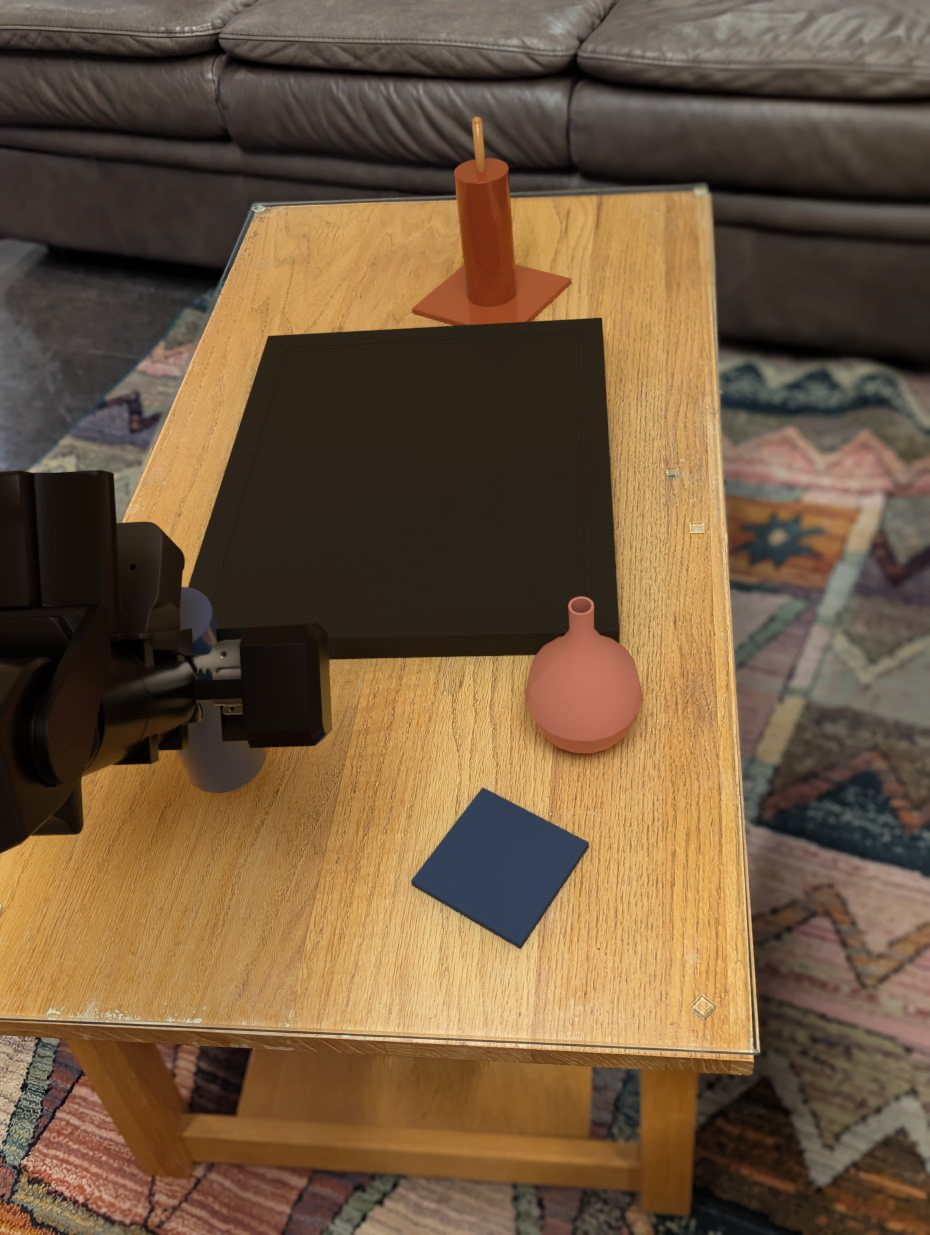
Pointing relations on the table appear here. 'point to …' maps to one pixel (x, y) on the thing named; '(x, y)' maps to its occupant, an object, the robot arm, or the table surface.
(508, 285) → the terracotta candle
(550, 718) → the terracotta bud vase
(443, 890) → the blue mat
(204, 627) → the blue cylinder
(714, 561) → the table surface
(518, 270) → the terracotta tile
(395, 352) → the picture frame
